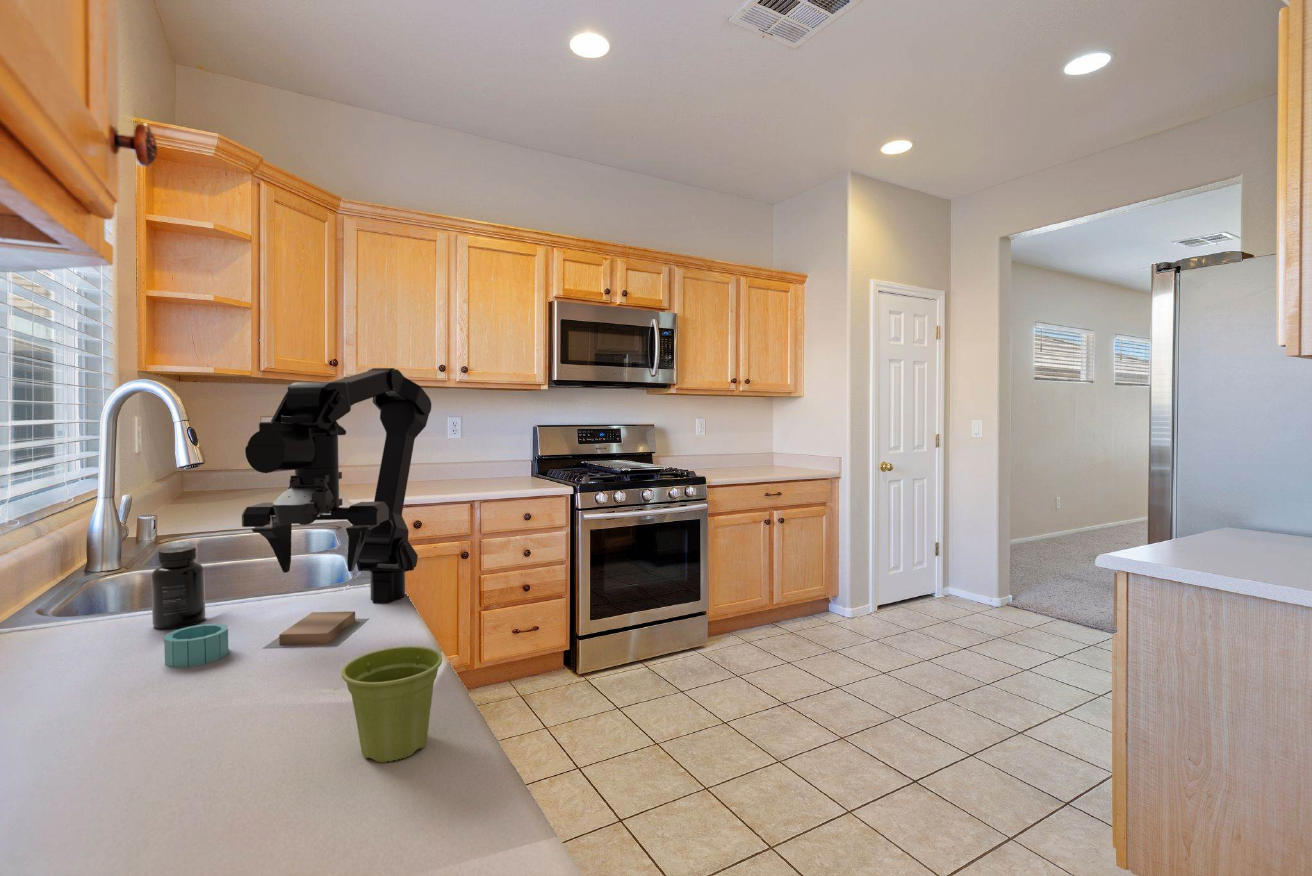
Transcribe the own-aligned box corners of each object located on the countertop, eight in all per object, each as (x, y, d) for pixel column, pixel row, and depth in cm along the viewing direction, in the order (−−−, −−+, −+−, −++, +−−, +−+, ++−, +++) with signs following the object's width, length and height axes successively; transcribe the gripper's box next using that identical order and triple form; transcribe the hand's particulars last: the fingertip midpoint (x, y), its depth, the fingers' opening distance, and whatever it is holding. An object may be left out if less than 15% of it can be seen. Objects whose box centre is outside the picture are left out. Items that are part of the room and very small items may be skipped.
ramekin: (187, 656, 87) (186, 624, 87) (239, 655, 88) (238, 623, 87) (152, 676, 80) (151, 642, 80) (208, 674, 81) (208, 640, 81)
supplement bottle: (216, 616, 104) (214, 545, 104) (181, 630, 97) (179, 554, 97) (178, 615, 105) (176, 544, 104) (140, 629, 98) (138, 553, 98)
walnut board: (312, 621, 98) (312, 612, 98) (355, 620, 99) (355, 611, 98) (279, 645, 88) (279, 634, 88) (327, 643, 89) (327, 633, 89)
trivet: (303, 627, 99) (303, 620, 99) (369, 625, 100) (369, 618, 100) (262, 656, 87) (262, 648, 87) (337, 654, 88) (337, 646, 88)
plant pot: (339, 783, 57) (338, 689, 57) (345, 735, 66) (344, 653, 65) (447, 760, 61) (446, 673, 61) (439, 718, 69) (438, 640, 69)
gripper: (216, 472, 84) (219, 588, 84) (361, 471, 85) (363, 585, 86) (261, 465, 95) (264, 567, 95) (389, 465, 96) (390, 565, 97)
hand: (318, 571), depth 93 cm, fingers open, 9 cm apart
